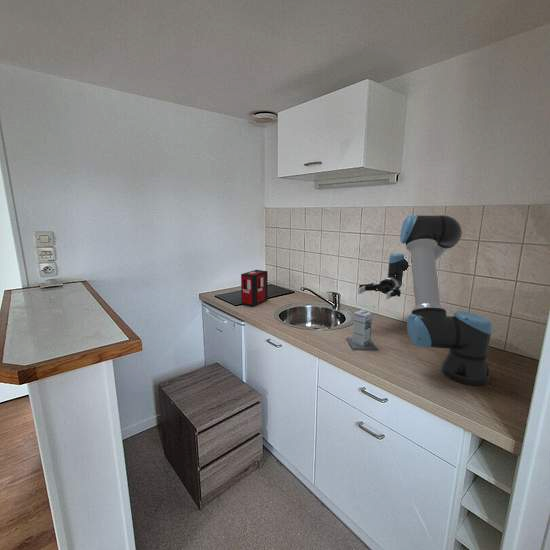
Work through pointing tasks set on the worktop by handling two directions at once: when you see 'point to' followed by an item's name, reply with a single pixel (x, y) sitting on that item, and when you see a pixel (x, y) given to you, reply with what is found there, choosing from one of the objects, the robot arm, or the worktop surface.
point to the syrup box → (362, 327)
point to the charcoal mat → (358, 347)
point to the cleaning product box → (254, 287)
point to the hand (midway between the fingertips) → (372, 293)
